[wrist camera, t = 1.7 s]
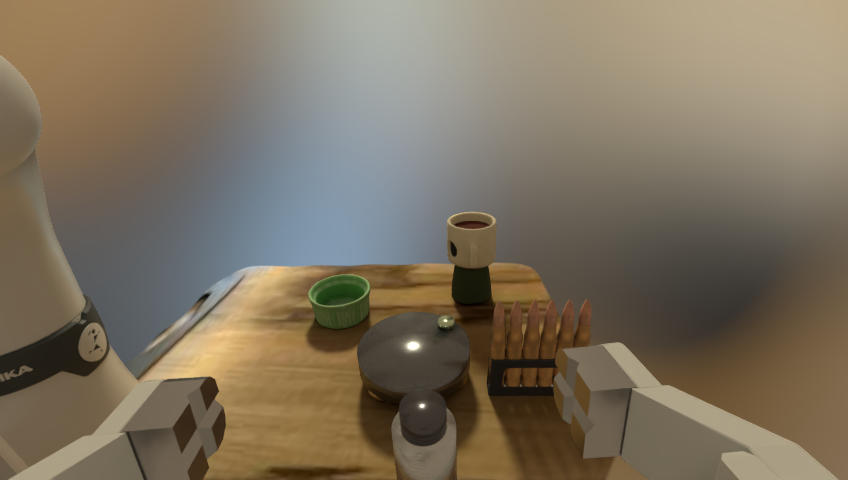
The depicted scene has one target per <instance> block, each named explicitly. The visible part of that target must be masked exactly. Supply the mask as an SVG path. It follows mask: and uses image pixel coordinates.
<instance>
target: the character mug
mask: <svg viewBox="0 0 848 480" xmlns="http://www.w3.org/2000/svg"><path fill="white" fill-rule="evenodd" d="M447 235H448V239H447V247H448V258H449V261H451V262H452V263H453V264H455V267H454V273H453V280H452V297H453V298H454V299H455V300H456V301H458V302H460V303H463V304H468V303H478V302H483V301H486V300H488V299H489V298H490V297H491V282H490V275H489V268H488V266H489V265H490V264H492V263H493V262H494V259H495V252H496V219H495V218H494V217H493V216H491V215H488V214H485V213H480V212H465V213H459V214H456V215H453V216H451V217H449V219H448V220H447Z"/></svg>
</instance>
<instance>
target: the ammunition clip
mask: <svg viewBox="0 0 848 480" xmlns="http://www.w3.org/2000/svg"><path fill="white" fill-rule="evenodd" d="M556 320H557V313H556V306H555V303H554V301H553V300H551V301H550V303H549V305H548V307H547V310H546V313H545V319H544V324H543V329H542V332H541V337H540V333H539V308H538V304H537V302H536V300H534V301H533V303H532V304H531V307H530V309H529V313H528V320H527V326H526V330H525V333H524V344H523V349H522V342H523V334H522V312H521V307H520V304H519V302H518V301H516V302H515V303H514V305H513V308H512V311H511V317H510V325H509V331H508V334H507V349H505V342H506V334H505V324H504V309H503V306H502V303H501V301H498V303H497V304H496V307H495V310H494V315H493V324H492V331H491V336H490V355H489V366H488V376H487V388H488V395H489V396H511V395H554V391H553V386H554V378H555V377H556V375H557V374H558V373H559V372H560V371H559V369H558V367H557V366H556V364H555V358H556V353H557V350H558V349H562V348H574V347H585V346H589V345H590V337H591V334H590V326H591V323H590V322H591V305H590V302H589V300H586V301H585V302H584V304H583V306H582V308H581V311H580V315H579V319H578V323H577V328H576V330H575V333H574V335H573V322H574V309H573V304H572V301H571V300H569V301H568V302H567V303H566V305H565V308H564V310H563V314H562V319H561V324H560V329H559V331H558V334H557V335H556ZM573 338H574V339H573ZM556 340H557V342H556ZM539 342H540V347H539ZM505 357H506V359H505ZM521 357H522V359H521ZM504 370H505V375H504ZM520 372H521V375H520Z"/></svg>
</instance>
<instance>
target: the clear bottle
mask: <svg viewBox="0 0 848 480" xmlns="http://www.w3.org/2000/svg"><path fill="white" fill-rule="evenodd" d="M392 439H393V447H394V456H395V465H396V474H397V480H457V448H456V422H455V418H454V416H453V414H452V413H451V412H450V411H449V410H448V409H447V408H446V402H445V400H444V398H443V397H442V396H441V395H440V394H439V393H437V392H435V391H433V390H429V389H418V390H414V391H412V392H410V393H408V394H407V395H405V396H404V397H403V399H402V400H401V402H400V404H399V412H398V413H397V414H396V416H395V418H394V420H393V423H392Z"/></svg>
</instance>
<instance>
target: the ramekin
mask: <svg viewBox="0 0 848 480" xmlns="http://www.w3.org/2000/svg"><path fill="white" fill-rule="evenodd" d="M369 293H370V284H369V282H368V281H367V280H366V279H364V278H363V277H360V276H357V275H350V274H343V275H335V276H331V277H328V278H325V279H323V280H321V281H319V282H317V283H316V284H315V285H313V286H312V288H311V289H310V290H309V293H308V297H309V300H310V302H311V304H312V307H313V310H314V314H315V318H316V320H317V322H318V323H319V324H320V325H322V326H324V327H327V328H331V329H343V328H348V327H351V326H354V325H356V324H358V323H360V322H361V321H362V320H364V319H365V318H366V316H367V315H368V312H369Z"/></svg>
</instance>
